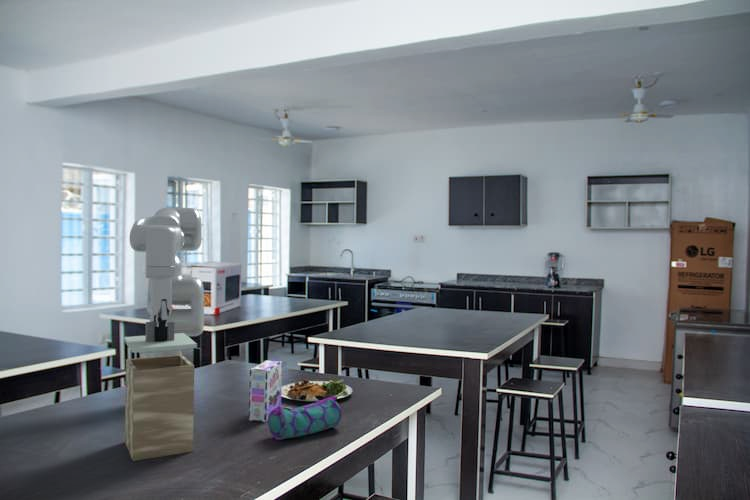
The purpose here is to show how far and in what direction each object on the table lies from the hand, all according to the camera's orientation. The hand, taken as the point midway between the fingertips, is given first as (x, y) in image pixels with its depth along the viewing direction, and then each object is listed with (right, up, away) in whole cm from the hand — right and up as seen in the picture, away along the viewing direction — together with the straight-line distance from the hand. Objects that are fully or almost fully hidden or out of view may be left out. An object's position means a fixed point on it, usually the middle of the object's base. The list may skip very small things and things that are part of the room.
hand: (159, 339), depth 159 cm
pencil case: (+38, -30, +14) cm, 50 cm away
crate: (-1, -29, +1) cm, 29 cm away
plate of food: (+36, -29, +54) cm, 71 cm away
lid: (0, -1, 0) cm, 1 cm away
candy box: (+23, -29, +29) cm, 47 cm away
